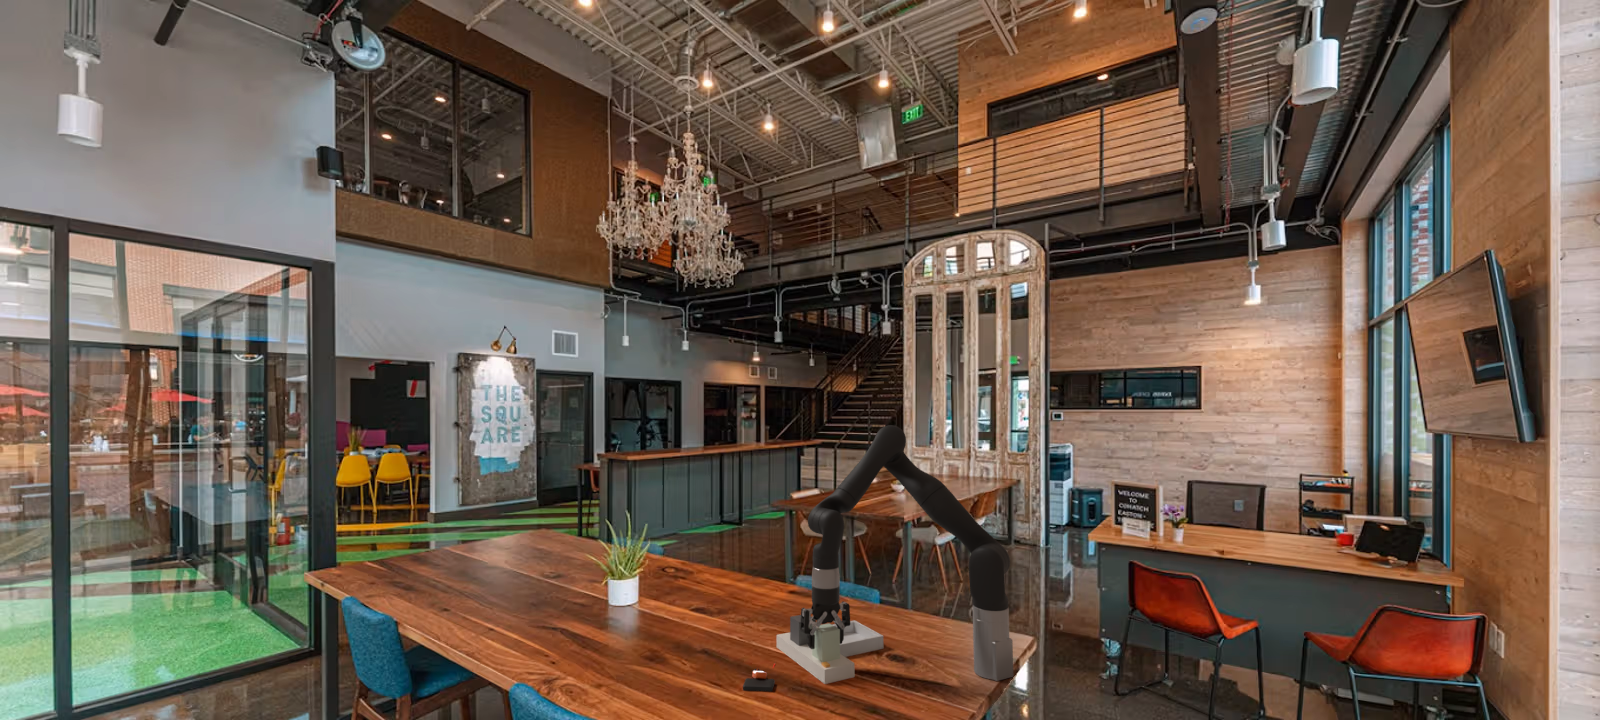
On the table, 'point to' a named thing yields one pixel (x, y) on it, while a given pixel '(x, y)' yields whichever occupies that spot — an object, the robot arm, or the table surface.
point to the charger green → (827, 643)
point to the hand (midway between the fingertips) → (825, 645)
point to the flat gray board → (816, 661)
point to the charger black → (797, 631)
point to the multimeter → (759, 682)
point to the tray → (859, 639)
